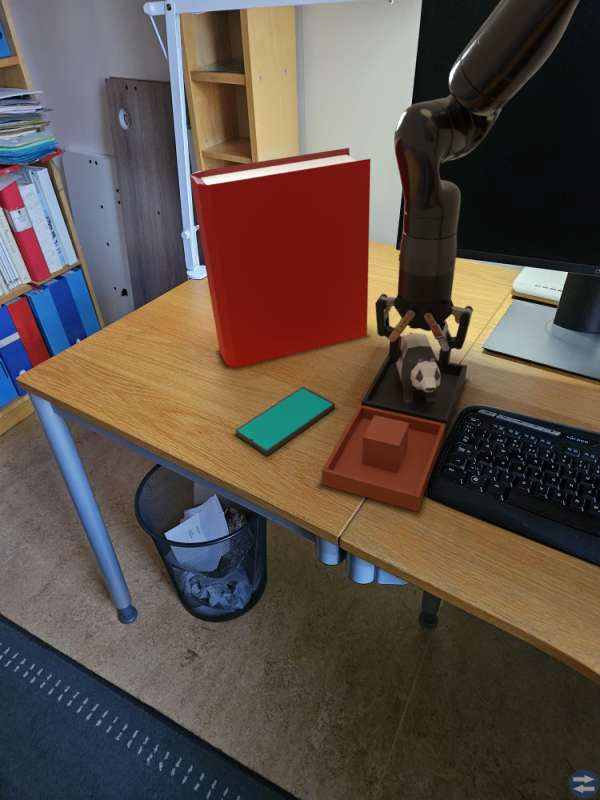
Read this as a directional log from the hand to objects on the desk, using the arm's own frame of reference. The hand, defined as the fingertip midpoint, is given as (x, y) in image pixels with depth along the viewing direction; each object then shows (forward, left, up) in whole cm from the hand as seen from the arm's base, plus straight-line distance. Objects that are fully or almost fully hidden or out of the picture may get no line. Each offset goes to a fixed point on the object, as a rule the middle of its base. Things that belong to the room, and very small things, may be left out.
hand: (418, 363), depth 87 cm
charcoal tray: (0, 0, -7) cm, 7 cm away
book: (+26, -9, -7) cm, 28 cm away
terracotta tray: (0, +16, -7) cm, 17 cm away
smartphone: (+17, +13, -7) cm, 22 cm away
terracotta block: (0, +16, -6) cm, 17 cm away
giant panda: (0, 0, -6) cm, 6 cm away
